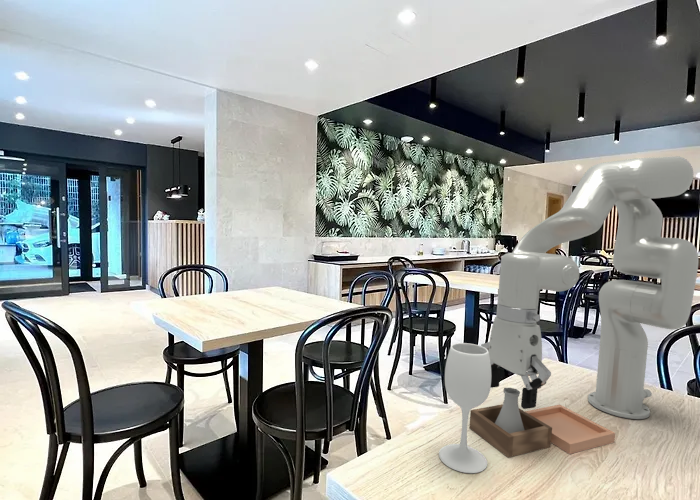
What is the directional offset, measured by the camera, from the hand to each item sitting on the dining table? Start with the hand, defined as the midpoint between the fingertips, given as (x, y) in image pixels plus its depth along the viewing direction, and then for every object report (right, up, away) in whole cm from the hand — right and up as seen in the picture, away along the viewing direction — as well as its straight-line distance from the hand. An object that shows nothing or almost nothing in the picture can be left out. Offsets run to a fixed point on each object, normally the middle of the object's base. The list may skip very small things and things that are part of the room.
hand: (509, 396), depth 79 cm
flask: (0, -9, +1) cm, 9 cm away
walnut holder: (0, -9, +1) cm, 9 cm away
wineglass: (-12, -9, -7) cm, 16 cm away
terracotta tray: (+13, -9, +4) cm, 17 cm away
